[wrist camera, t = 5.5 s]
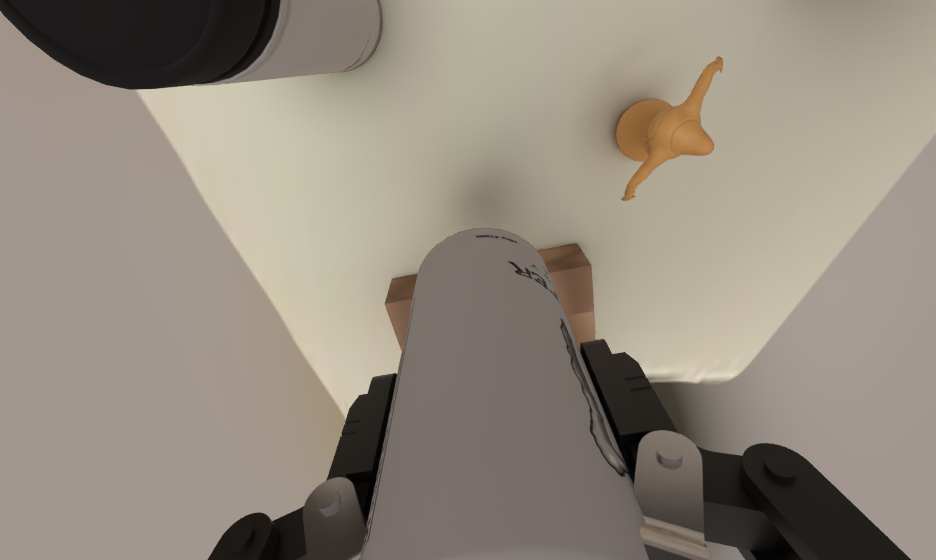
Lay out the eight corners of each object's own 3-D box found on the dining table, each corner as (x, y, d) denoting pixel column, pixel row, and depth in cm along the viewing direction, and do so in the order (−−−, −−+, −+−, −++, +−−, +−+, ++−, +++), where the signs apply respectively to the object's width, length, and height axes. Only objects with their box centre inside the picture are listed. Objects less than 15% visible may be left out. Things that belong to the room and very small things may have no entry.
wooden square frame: (577, 243, 33) (591, 265, 30) (587, 383, 41) (599, 413, 37) (391, 279, 34) (384, 303, 31) (435, 408, 42) (433, 440, 39)
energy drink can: (558, 310, 20) (747, 804, 7) (445, 344, 21) (418, 836, 8) (525, 200, 17) (739, 680, 4) (396, 245, 18) (223, 752, 5)
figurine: (623, 189, 31) (708, 255, 21) (558, 155, 30) (613, 208, 19) (695, 82, 28) (842, 96, 17) (625, 38, 26) (738, 24, 16)
